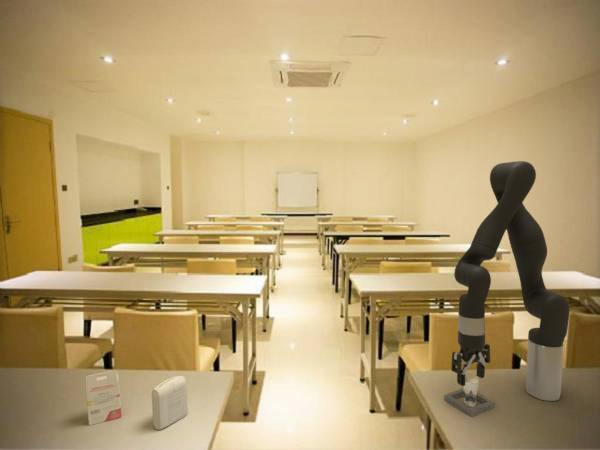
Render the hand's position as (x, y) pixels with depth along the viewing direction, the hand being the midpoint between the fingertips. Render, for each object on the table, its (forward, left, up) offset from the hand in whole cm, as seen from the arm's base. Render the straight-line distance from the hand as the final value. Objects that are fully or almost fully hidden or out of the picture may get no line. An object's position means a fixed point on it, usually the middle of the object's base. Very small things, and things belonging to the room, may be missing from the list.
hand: (471, 380), depth 114 cm
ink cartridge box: (+99, -47, -8) cm, 110 cm away
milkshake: (0, 0, -7) cm, 7 cm away
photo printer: (+82, -36, -8) cm, 90 cm away
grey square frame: (0, 0, -7) cm, 7 cm away
